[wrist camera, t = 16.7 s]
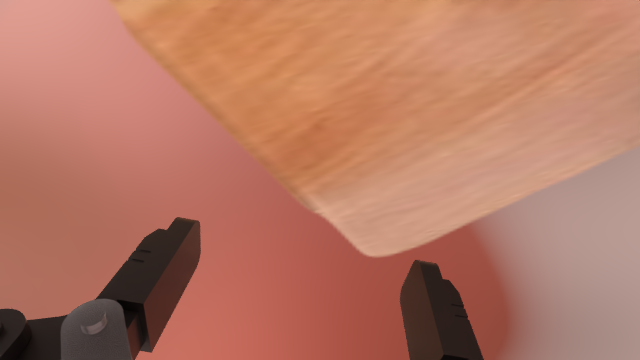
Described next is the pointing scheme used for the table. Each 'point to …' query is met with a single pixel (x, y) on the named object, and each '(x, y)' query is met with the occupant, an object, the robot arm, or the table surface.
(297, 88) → the table surface
